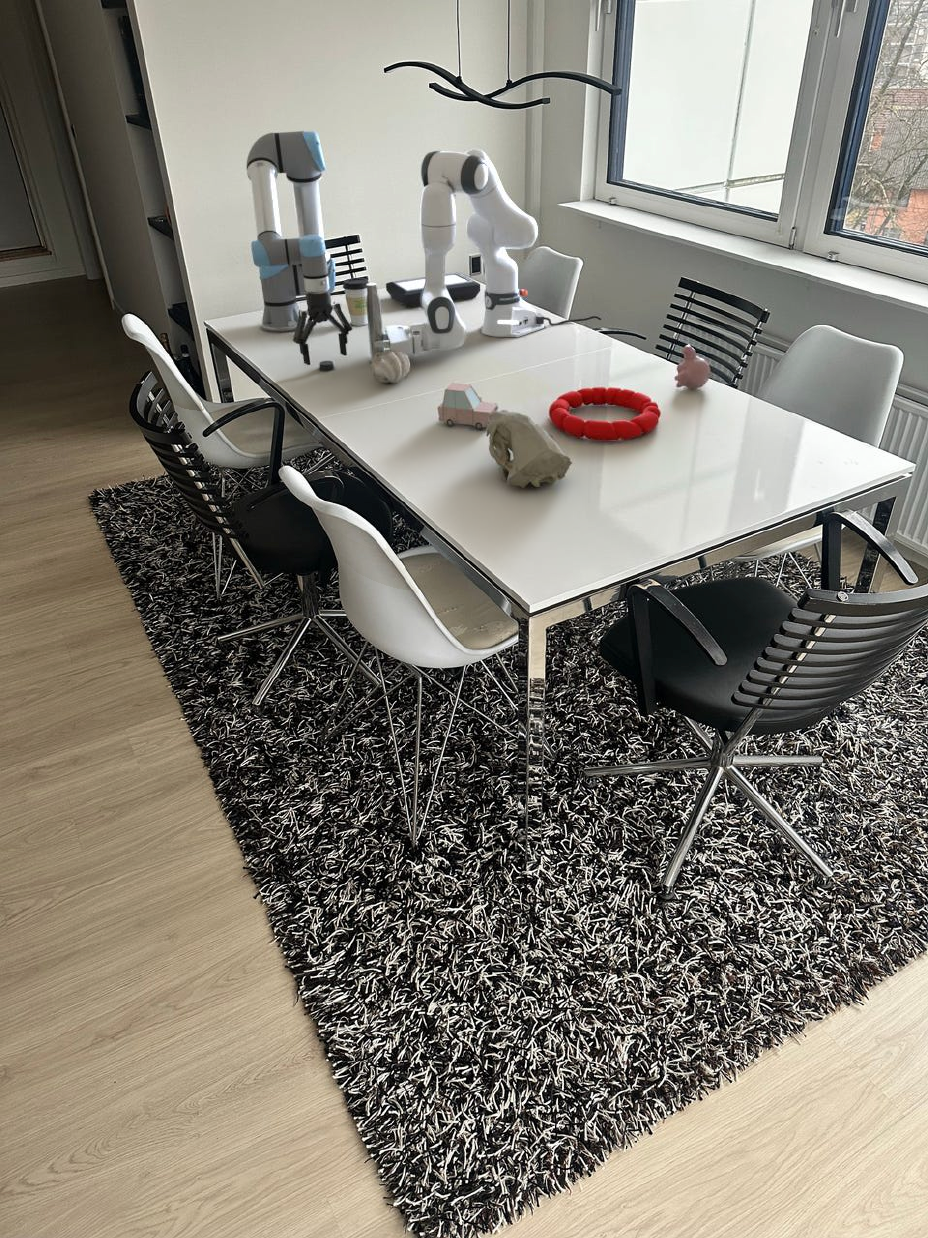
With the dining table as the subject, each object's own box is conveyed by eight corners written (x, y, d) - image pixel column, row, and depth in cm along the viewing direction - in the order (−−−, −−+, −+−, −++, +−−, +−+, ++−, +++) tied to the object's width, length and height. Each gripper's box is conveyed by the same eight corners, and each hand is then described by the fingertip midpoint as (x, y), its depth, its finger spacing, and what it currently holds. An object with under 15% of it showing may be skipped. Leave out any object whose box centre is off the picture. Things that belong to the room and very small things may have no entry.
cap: (326, 365, 289) (325, 359, 288) (336, 367, 287) (336, 361, 286) (316, 369, 286) (316, 363, 285) (327, 371, 284) (327, 365, 283)
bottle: (385, 362, 290) (379, 285, 276) (372, 364, 289) (365, 286, 275) (383, 358, 294) (377, 281, 280) (370, 359, 293) (363, 282, 279)
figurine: (665, 387, 264) (669, 347, 257) (693, 380, 268) (698, 340, 261) (686, 396, 257) (690, 355, 250) (714, 388, 262) (720, 348, 255)
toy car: (488, 432, 240) (488, 396, 234) (436, 426, 244) (434, 390, 239) (499, 419, 247) (499, 384, 241) (448, 413, 252) (447, 379, 246)
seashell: (364, 381, 275) (361, 349, 270) (407, 372, 281) (405, 341, 275) (377, 391, 268) (374, 358, 262) (421, 382, 273) (420, 349, 268)
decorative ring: (589, 435, 224) (684, 402, 234) (527, 398, 247) (617, 369, 256) (589, 461, 229) (683, 427, 238) (529, 422, 251) (617, 393, 260)
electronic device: (403, 292, 336) (385, 281, 351) (404, 309, 340) (386, 297, 355) (480, 281, 346) (459, 270, 361) (480, 298, 350) (459, 286, 365)
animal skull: (496, 517, 219) (521, 479, 201) (463, 429, 225) (484, 384, 207) (557, 503, 225) (586, 465, 206) (523, 417, 231) (549, 373, 212)
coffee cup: (372, 326, 323) (368, 283, 314) (345, 327, 323) (340, 284, 315) (374, 318, 331) (371, 276, 322) (348, 319, 331) (344, 277, 323)
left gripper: (287, 300, 264) (297, 370, 277) (358, 285, 277) (364, 353, 289) (275, 296, 269) (285, 365, 281) (345, 280, 282) (352, 347, 294)
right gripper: (411, 319, 296) (370, 322, 294) (419, 337, 279) (375, 340, 278) (412, 338, 300) (371, 341, 298) (420, 357, 283) (377, 360, 281)
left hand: (325, 359), depth 285 cm, fingers open, 13 cm apart
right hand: (373, 341), depth 288 cm, fingers closed on bottle, 4 cm apart
